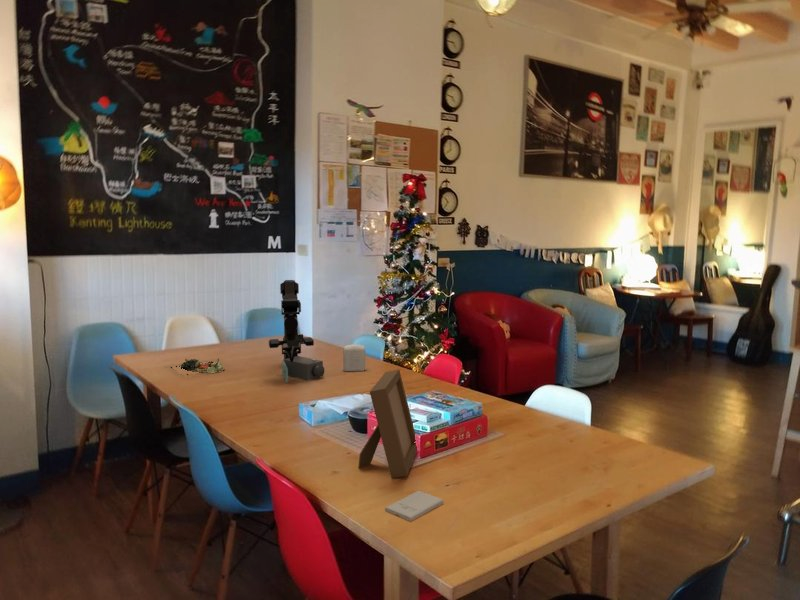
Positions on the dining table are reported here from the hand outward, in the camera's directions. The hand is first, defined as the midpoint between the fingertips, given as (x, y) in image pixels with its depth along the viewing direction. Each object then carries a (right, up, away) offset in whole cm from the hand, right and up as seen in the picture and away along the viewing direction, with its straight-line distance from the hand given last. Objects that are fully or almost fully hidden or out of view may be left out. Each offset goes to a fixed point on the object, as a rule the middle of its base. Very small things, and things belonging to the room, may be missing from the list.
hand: (291, 362), depth 272 cm
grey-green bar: (-4, -8, +4) cm, 10 cm away
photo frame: (+43, -20, -90) cm, 102 cm away
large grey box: (+5, -7, +10) cm, 13 cm away
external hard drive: (+50, -25, -118) cm, 131 cm away
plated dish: (-46, -7, +22) cm, 51 cm away
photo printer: (+26, -6, +20) cm, 33 cm away
